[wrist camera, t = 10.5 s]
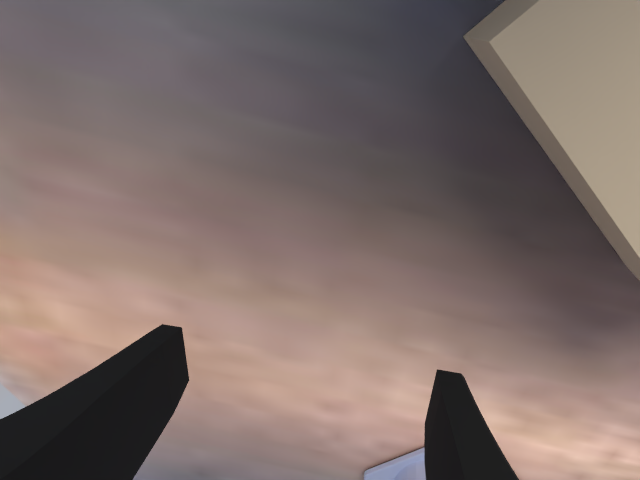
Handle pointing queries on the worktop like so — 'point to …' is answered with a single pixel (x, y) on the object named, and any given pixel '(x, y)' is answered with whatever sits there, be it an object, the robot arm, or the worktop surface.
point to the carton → (576, 98)
